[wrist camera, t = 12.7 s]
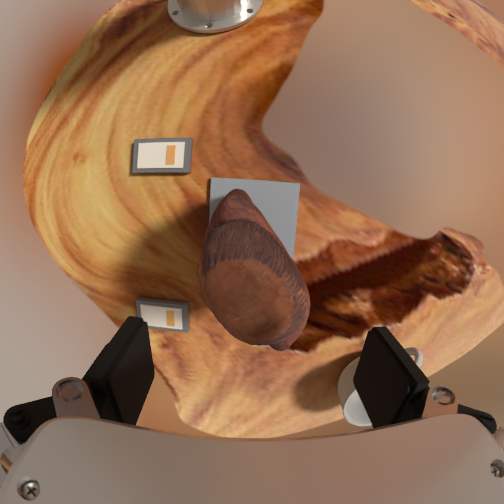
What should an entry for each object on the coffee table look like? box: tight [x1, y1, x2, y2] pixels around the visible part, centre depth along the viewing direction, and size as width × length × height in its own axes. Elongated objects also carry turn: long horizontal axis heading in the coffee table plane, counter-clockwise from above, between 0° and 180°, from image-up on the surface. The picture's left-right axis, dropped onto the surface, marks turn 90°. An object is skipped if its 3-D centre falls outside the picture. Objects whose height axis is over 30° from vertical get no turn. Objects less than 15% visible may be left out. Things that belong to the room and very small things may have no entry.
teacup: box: [338, 348, 423, 426], centre depth 34 cm, size 14×11×8 cm
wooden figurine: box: [197, 189, 310, 351], centre depth 23 cm, size 12×6×18 cm, turn 32°
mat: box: [209, 178, 300, 260], centre depth 32 cm, size 15×10×1 cm, turn 176°
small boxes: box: [132, 138, 193, 333], centre depth 31 cm, size 24×7×1 cm, turn 176°
